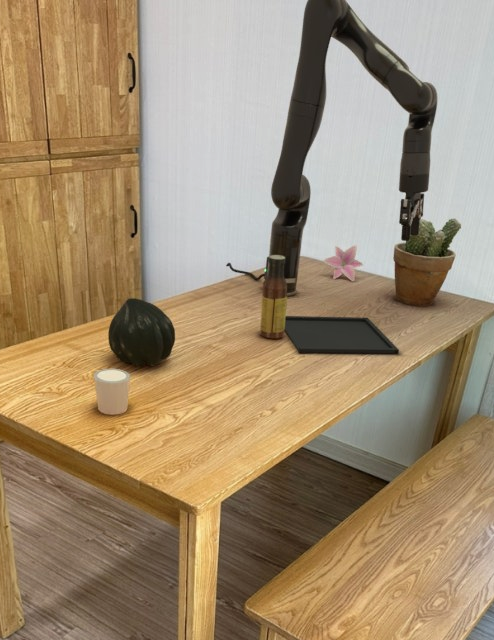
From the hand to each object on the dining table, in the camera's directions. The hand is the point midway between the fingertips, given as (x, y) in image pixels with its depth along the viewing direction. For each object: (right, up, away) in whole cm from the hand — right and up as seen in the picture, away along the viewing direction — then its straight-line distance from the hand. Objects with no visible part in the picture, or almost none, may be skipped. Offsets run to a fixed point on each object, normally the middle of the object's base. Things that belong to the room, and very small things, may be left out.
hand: (410, 237), depth 187 cm
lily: (-13, +4, +46) cm, 48 cm away
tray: (-20, -27, -4) cm, 34 cm away
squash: (-67, -39, -29) cm, 83 cm away
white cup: (-69, -52, -51) cm, 101 cm away
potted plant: (+8, -9, +30) cm, 33 cm away
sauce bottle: (-38, -28, -8) cm, 48 cm away
